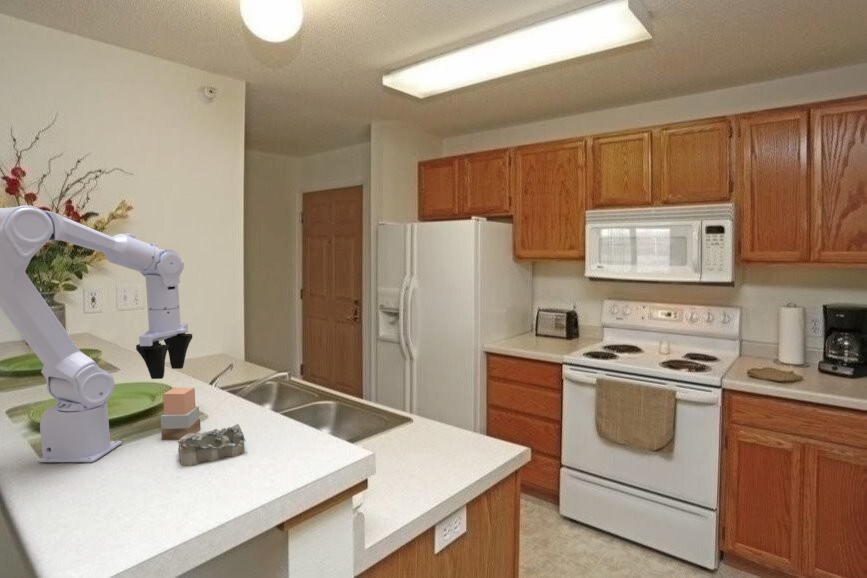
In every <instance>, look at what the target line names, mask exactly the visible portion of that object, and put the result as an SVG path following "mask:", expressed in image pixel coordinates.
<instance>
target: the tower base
mask: <svg viewBox="0 0 867 578" xmlns="http://www.w3.org/2000/svg"><path fill="white" fill-rule="evenodd" d="M160 430H161V440H162V441H178V440H179V439H180V438H182V437H183V436H185V435H186V434H189V433H198V432H200V431H201V418H199V419H198V420H197V421H196V422H195V423H194V424H193V425H192V426H190V427H189V428H175V429H160Z"/></svg>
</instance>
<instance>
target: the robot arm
mask: <svg viewBox="0 0 867 578" xmlns="http://www.w3.org/2000/svg"><path fill="white" fill-rule="evenodd" d="M136 237H137V236H136V235H135V234H133V233H130V232H127V233H117V234H116V235H113V236H110V235H108V234H106V233H104V232H101V231H99V230H96V229H94V228H91V227H89V226H87V225H84V224H82V223H79V222H77V221H75V220H72V219H70V218H68V217H65V216H63V215H60V214H58V213H56V212H54V211H49V210H43V209H41V208H39V207H36V206H33V205H19V206H13V207H0V309H1V310H2V312H3V313H4V314H5V315H6V317H7V318H8V320H9V321H10V323H11V324H12V325H13V327H15V329H16V331H18V333H19V334H20V335H21V336H22V338H23V339H24V341H25V342H26V343H27V344H28V346H29V347H30V349H31V350H32V352H33V353H34V354H35V355H36V356H37V358H38V359H39V361H40V362H41V363H42V365H43V366H42V369H41V374H42V375H43V377H44V379H45V381H46V389H47V392H48V394H49V395H50V396H51V397H52V398H54V399H55V401H56V404H54V405H51V406H50V407H48V408H47V409H45V411H44V412H43V413H42V416H41V419H40V422H39V430H40V431H39V433H40V434H39V435H40V442H41V443H40V444H41V453H42V456H41V457H40V458H39V459H38V462H39V463H93V462H96V461H97V460H98V459H101V458H102V457H103V456H104V455H106V454H108V453H109V452H111V451H112V450H113V449H116V448H117V447H119V446H120V445H121V444H122V443H123V441H122V440H111V436H110V422H109V412H108V411H109V410H108V403H109V398H111V396H112V395H113V393H114V390H115V384H116V382H115V379H114V377H113V375H112V374H111V373H110V372H109V371H107V370H104V369H102V368H101V367H100V366H99V365H98V364H97V362H96V361H95V360H93V359H92V358H91V357H89V356H88V355H86V354H85V353H84V352H82V351H81V350H80V349H79V348H78V346H77V345H76V343H75V342H74V340H73V339H72V338H71V336H70V334H69V333H68V332H67V330H66V329H65V327H64V326H63V325H62V323H61V322H60V320H59V319H58V318H57V316H56V315H55V313H54V312H53V310H52V309H51V308H50V306H49V304H48V303H47V302H46V300H45V299H44V297H43V296H42V295H41V293H40V292H39V291H38V288H37V287H36V286H35V284H34V283H33V282H32V280H31V279H30V277H29V276H28V274H27V273H26V270H27V269H28V266H29V264H30V262H31V260H32V258H33V257H34V256H35V255H36V254H38V252H39V251H40V250H41V249H42V248H43V246H45V245H46V244H47V242H49V241H51V242H52V241H61V242H65V243H68V244H73V245H76V246H78V247H82V248H86V249H89V250H92V251H96V252H100V253H103V254H104V257H105V259H106V260H107V262H108V263H111V264H114V265H117V266H120V267H124V268H127V269H129V270H133V271H136V272H139V273H140V274H141V275H142V277H145V289H146V301H147V302H146V303H147V318H148V319H147V321H148V330H147V331H146V332H144V333H143V334H141V335H139V336H138V339H139V343H138V344H136V345H135V348H136V349H135V350H136V352H138V354H139V355H140V356H141V358H142V359H143V361H144V363H145V364H146V365H145V366H146V368H147V370H148V373H149V376H150V378H151V380H161V379H164V377H165V370H166V369H165V366H166V365H165V364H166V358H167V353H168V357H169V362H170V367H171V369H172V370H174V369H175V370H177V369H179V370H182V369H183V368H184V365H185V360H186V357H187V356H186V355H187V351H188V348H189V345H190V343H191V341H192V339H193V333H188V332H189V326H188V323H181V312H180V295H179V293H180V292H179V283H180V282H181V281H180V278H181V274H182V273H183V271H184V266H185V263H184V262H183V261H182V258H181V257H180V256H179V254H178V253H177V252H176V251H175V250H172V249H160V248H159V247H158V244H157V243H154V242H153V243H151V242H150V243H148V242H145V241H142V240H140V239H137V238H136ZM162 341H163V342H164V343H165V344H162V343H161V342H162Z"/></svg>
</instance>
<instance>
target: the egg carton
mask: <svg viewBox="0 0 867 578" xmlns="http://www.w3.org/2000/svg"><path fill="white" fill-rule="evenodd" d="M246 441H247V440H246V438H245V435H244V432H243V431H242V428H241V426H240V424H239V423H237V424H235V425H233V426H228V427H227V428H221V429H220V430H219V429H217V428H214V429H213V430H209V431H204V432H201V433H198V432H197V433H189V434H186V435H185V436H183V437H182V438H180V439H179V440H177V444H178V445H177V446H178V447H177V453H179V458H180V465H181V466H189V467H193V466H197V464H199V463H200V462H204V461H211V462H215V461H218V460H219V459H220V458H223V457H226V456H230V457H237V456H240V454H242V453H244V452H245V442H246Z"/></svg>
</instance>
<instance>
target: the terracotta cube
mask: <svg viewBox="0 0 867 578" xmlns="http://www.w3.org/2000/svg"><path fill="white" fill-rule="evenodd" d="M162 397H163V399H162V400H163V414H186V413H188V412H189V411H191V410H192V409H194V408H195V407H196V388H195V387H173V388H171V389H169V390H167V391H166V392H164V393H163V394H162Z"/></svg>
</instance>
